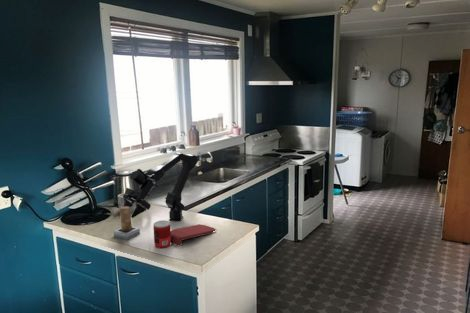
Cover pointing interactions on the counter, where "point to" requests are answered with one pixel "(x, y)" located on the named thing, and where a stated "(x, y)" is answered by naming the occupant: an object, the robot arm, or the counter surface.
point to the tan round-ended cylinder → (125, 219)
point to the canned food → (162, 234)
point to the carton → (189, 233)
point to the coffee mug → (121, 203)
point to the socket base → (127, 235)
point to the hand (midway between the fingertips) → (126, 215)
